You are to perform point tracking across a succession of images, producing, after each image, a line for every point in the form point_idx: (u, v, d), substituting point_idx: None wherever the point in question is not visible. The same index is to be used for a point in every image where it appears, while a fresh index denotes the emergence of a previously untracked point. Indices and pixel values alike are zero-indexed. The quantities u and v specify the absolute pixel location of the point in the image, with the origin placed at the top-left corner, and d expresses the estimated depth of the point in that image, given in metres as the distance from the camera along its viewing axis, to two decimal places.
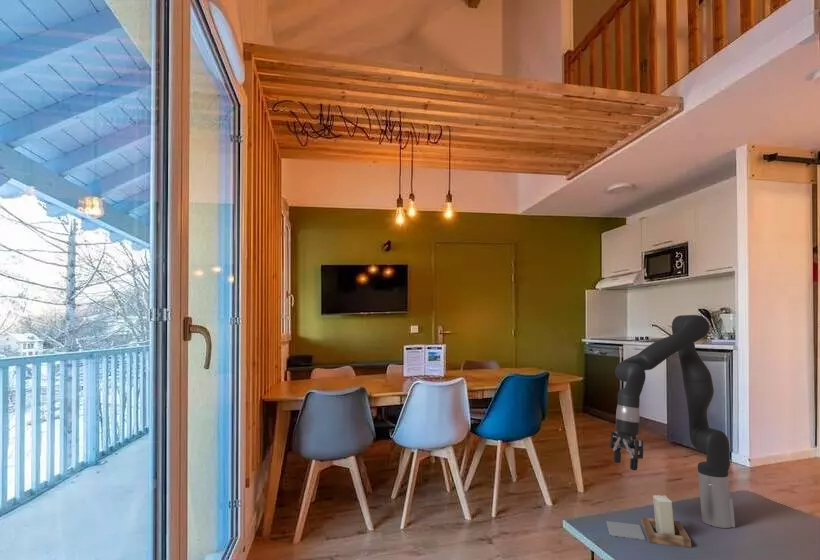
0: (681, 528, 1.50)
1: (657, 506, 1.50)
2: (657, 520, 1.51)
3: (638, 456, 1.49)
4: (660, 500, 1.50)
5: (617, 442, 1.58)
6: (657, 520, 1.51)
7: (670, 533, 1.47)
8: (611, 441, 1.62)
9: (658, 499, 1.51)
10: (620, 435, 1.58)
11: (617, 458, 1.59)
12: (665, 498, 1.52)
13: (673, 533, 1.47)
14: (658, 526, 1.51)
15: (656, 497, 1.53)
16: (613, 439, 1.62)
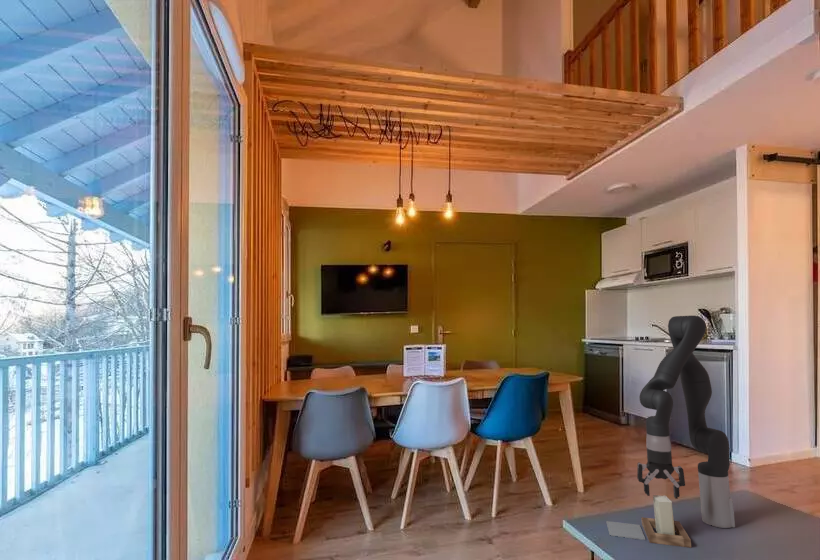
0: (681, 528, 1.50)
1: (657, 506, 1.50)
2: (657, 520, 1.51)
3: None
4: (660, 500, 1.50)
5: (653, 474, 1.52)
6: (657, 520, 1.51)
7: (670, 533, 1.47)
8: (640, 475, 1.53)
9: (658, 499, 1.51)
10: (654, 466, 1.52)
11: (648, 491, 1.53)
12: (665, 498, 1.52)
13: (673, 533, 1.47)
14: (658, 526, 1.51)
15: (656, 497, 1.53)
16: None
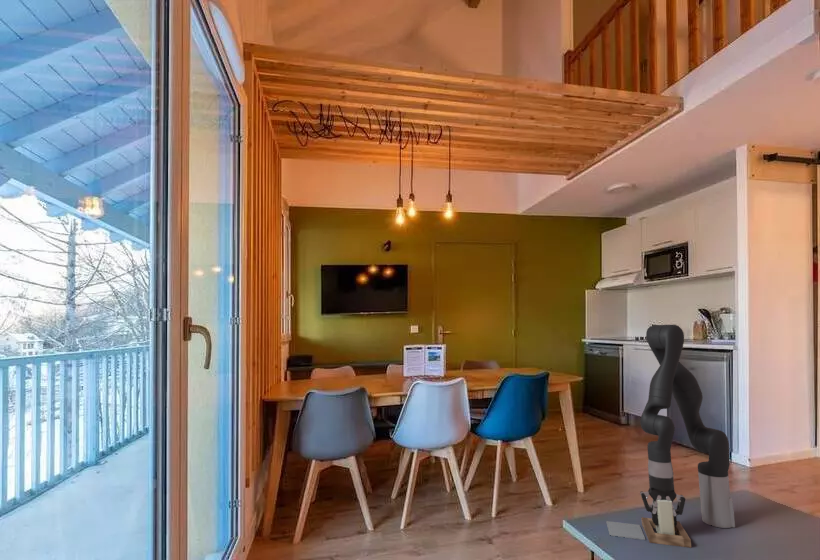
0: (681, 528, 1.50)
1: None
2: None
3: None
4: (660, 500, 1.50)
5: None
6: None
7: (670, 533, 1.47)
8: (646, 504, 1.52)
9: None
10: (656, 492, 1.51)
11: (656, 520, 1.52)
12: None
13: (673, 533, 1.47)
14: (658, 526, 1.51)
15: None
16: (646, 501, 1.52)
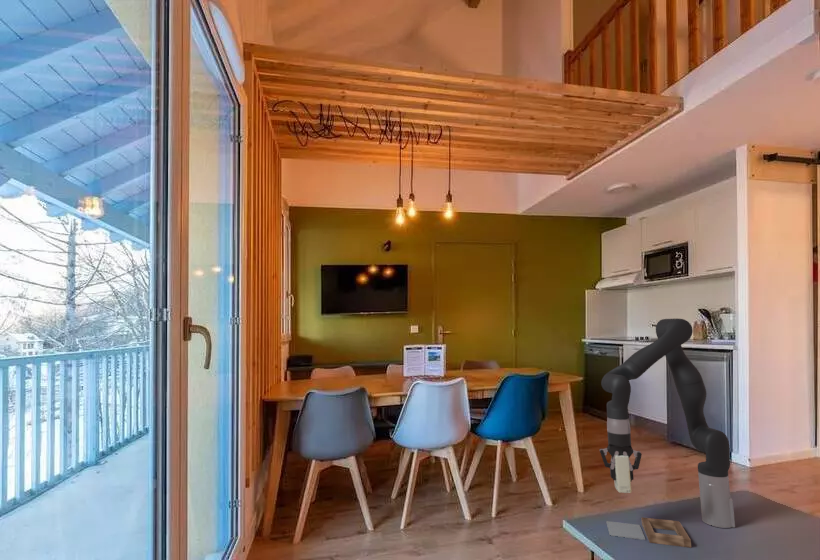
0: (681, 528, 1.50)
1: (615, 462, 1.56)
2: (615, 475, 1.57)
3: None
4: (618, 456, 1.55)
5: None
6: (615, 475, 1.56)
7: (627, 486, 1.53)
8: (604, 460, 1.57)
9: None
10: (614, 449, 1.57)
11: (614, 475, 1.57)
12: None
13: (629, 487, 1.53)
14: (616, 481, 1.56)
15: None
16: (605, 457, 1.58)
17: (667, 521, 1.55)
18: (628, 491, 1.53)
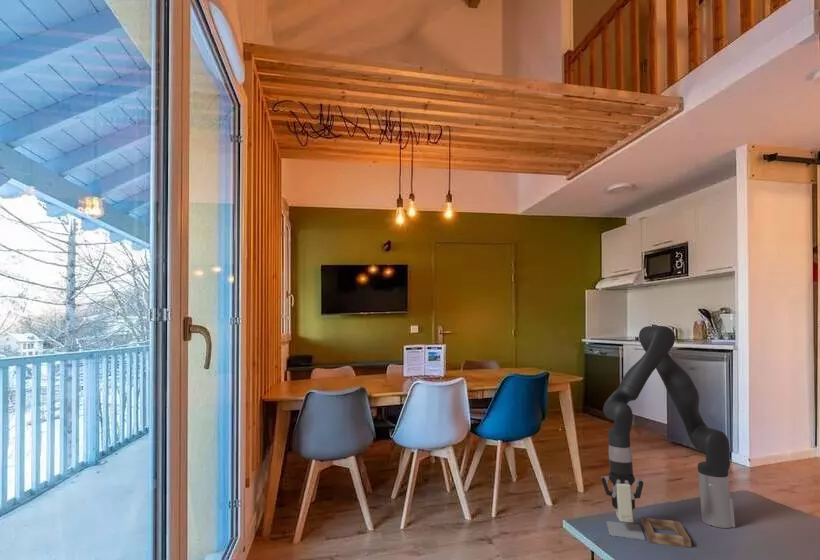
0: (681, 528, 1.50)
1: (617, 490, 1.55)
2: None
3: None
4: (619, 484, 1.54)
5: None
6: (617, 503, 1.55)
7: (628, 515, 1.52)
8: (606, 488, 1.56)
9: None
10: (616, 477, 1.56)
11: None
12: None
13: (631, 516, 1.52)
14: (617, 509, 1.55)
15: None
16: (606, 485, 1.57)
17: (667, 521, 1.55)
18: (630, 520, 1.51)
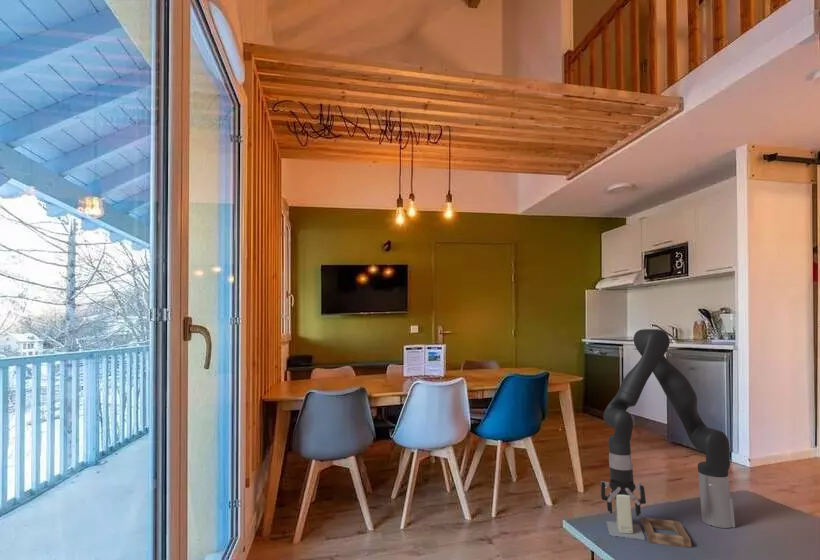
0: (681, 528, 1.50)
1: (616, 501, 1.54)
2: (617, 514, 1.55)
3: None
4: (619, 495, 1.54)
5: (615, 492, 1.55)
6: (617, 514, 1.55)
7: (628, 527, 1.51)
8: (603, 493, 1.56)
9: (617, 494, 1.55)
10: (616, 484, 1.55)
11: (611, 508, 1.56)
12: None
13: (631, 527, 1.51)
14: (617, 520, 1.55)
15: None
16: (604, 490, 1.57)
17: (667, 521, 1.55)
18: (629, 531, 1.51)
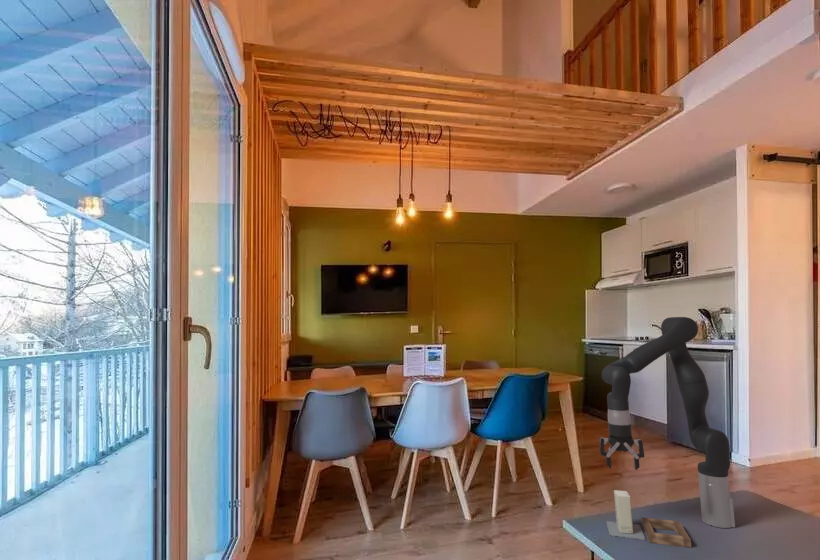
0: (681, 528, 1.50)
1: (616, 501, 1.54)
2: (617, 514, 1.55)
3: None
4: (619, 495, 1.54)
5: (614, 448, 1.57)
6: (617, 514, 1.55)
7: (628, 527, 1.51)
8: (602, 448, 1.59)
9: (617, 494, 1.55)
10: (615, 440, 1.58)
11: (610, 463, 1.59)
12: (625, 493, 1.56)
13: (631, 527, 1.51)
14: (617, 520, 1.55)
15: (616, 492, 1.57)
16: (603, 446, 1.59)
17: (667, 521, 1.55)
18: (629, 531, 1.51)
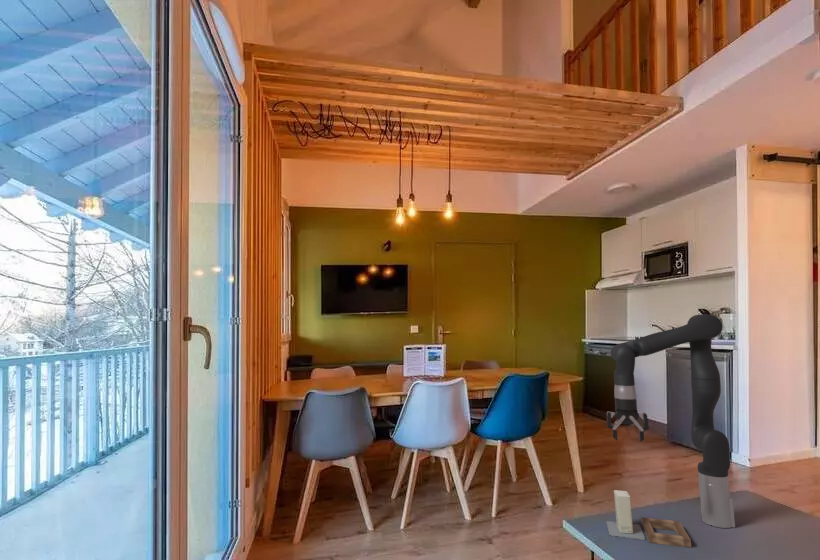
0: (681, 528, 1.50)
1: (616, 501, 1.54)
2: (617, 514, 1.55)
3: None
4: (619, 495, 1.54)
5: (620, 421, 1.67)
6: (617, 514, 1.55)
7: (628, 527, 1.51)
8: (609, 421, 1.69)
9: (617, 494, 1.55)
10: (621, 413, 1.68)
11: (616, 436, 1.69)
12: (625, 493, 1.56)
13: (631, 527, 1.51)
14: (617, 520, 1.55)
15: (616, 492, 1.57)
16: (610, 419, 1.69)
17: (667, 521, 1.55)
18: (629, 531, 1.51)
